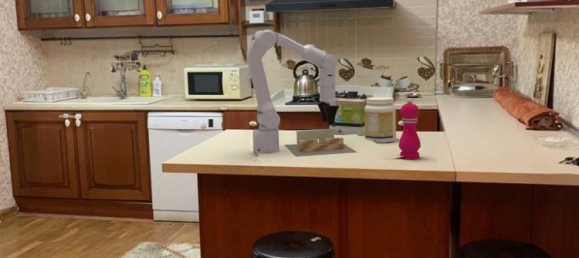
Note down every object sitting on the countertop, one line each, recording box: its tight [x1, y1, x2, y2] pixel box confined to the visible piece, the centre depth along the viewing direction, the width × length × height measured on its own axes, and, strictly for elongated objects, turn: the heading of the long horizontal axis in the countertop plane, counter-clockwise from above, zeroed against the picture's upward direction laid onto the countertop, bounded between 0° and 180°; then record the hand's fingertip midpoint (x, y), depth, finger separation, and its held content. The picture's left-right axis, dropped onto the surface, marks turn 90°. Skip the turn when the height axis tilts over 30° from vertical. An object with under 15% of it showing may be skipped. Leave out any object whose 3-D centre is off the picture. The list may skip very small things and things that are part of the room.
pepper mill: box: [398, 98, 422, 161], centre depth 190 cm, size 7×7×20 cm
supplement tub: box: [364, 96, 397, 144], centre depth 224 cm, size 12×12×17 cm
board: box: [283, 142, 358, 158], centre depth 208 cm, size 22×23×1 cm
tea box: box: [328, 97, 368, 136], centre depth 244 cm, size 15×10×15 cm
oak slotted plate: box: [299, 137, 345, 152], centre depth 204 cm, size 16×2×4 cm, turn 101°
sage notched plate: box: [296, 128, 335, 147], centre depth 212 cm, size 14×2×6 cm, turn 101°
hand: (328, 122), depth 213 cm, fingers open, 7 cm apart
